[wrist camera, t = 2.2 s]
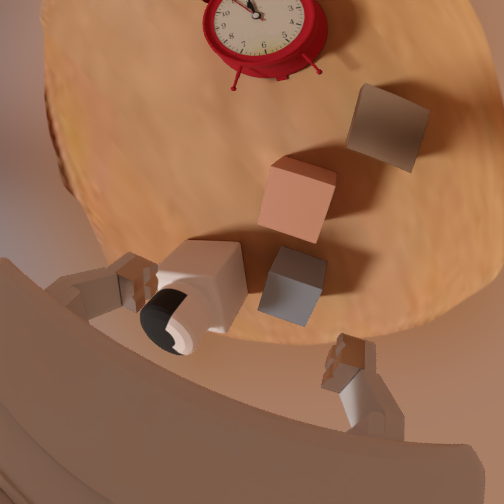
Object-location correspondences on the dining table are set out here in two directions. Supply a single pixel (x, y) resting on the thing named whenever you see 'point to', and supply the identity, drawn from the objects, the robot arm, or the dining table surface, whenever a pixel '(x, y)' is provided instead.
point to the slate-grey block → (293, 286)
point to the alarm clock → (265, 35)
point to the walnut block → (387, 127)
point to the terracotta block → (297, 198)
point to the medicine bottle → (195, 294)
